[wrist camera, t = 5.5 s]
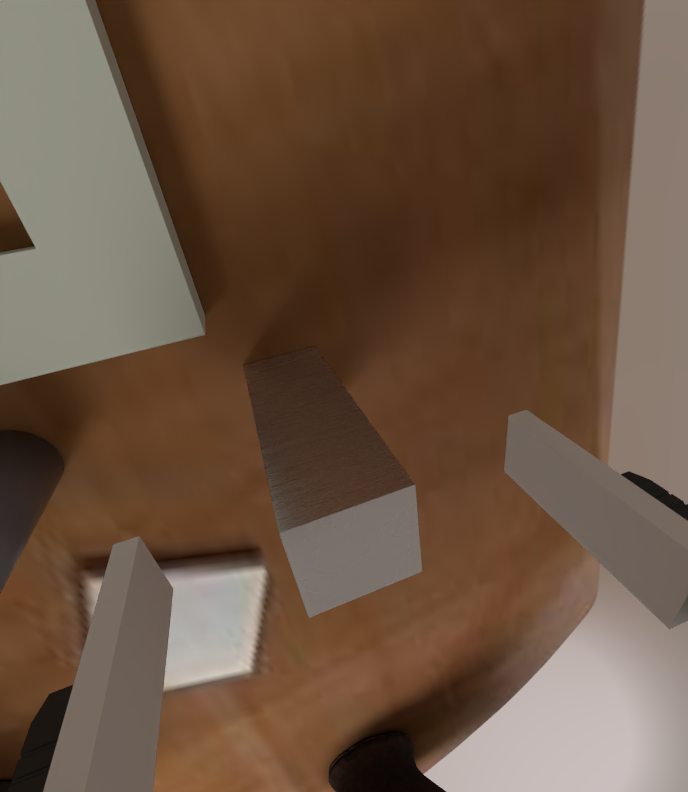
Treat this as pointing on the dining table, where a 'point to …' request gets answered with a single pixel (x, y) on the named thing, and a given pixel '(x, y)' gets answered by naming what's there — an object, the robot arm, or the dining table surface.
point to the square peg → (331, 483)
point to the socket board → (80, 202)
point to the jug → (380, 767)
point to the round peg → (23, 491)
